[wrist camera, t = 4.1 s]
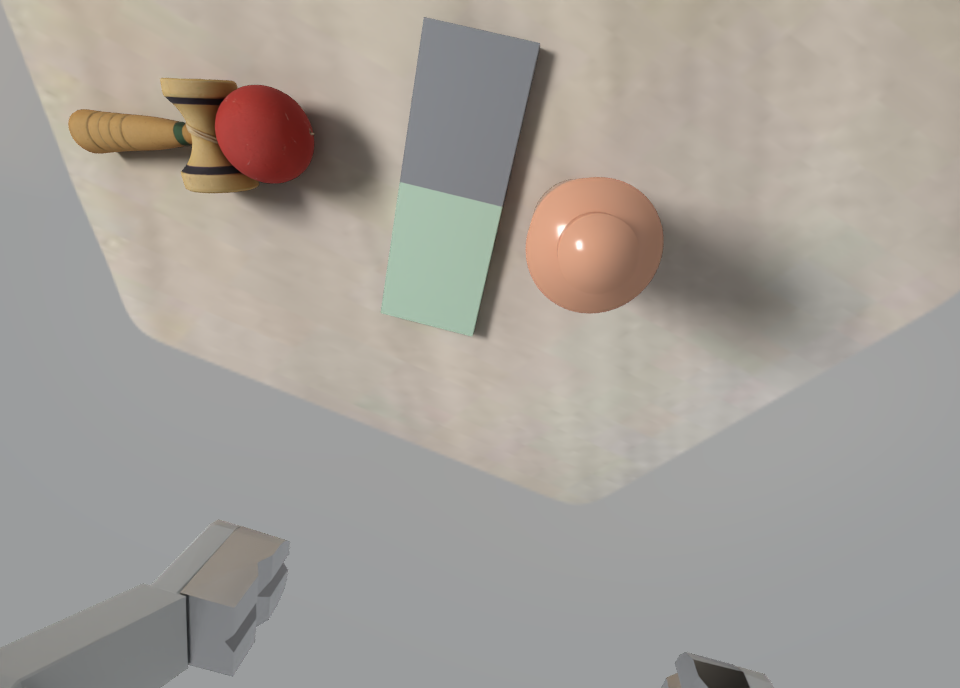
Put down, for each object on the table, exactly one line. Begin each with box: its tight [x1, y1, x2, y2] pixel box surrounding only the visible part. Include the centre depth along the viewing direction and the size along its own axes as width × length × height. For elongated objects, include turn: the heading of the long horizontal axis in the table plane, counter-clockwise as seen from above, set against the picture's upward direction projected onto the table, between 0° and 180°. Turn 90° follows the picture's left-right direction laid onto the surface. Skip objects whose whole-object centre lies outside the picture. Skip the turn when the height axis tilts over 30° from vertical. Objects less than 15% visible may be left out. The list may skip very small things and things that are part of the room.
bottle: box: [526, 177, 663, 313], centre depth 25 cm, size 6×6×15 cm
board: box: [381, 17, 540, 336], centre depth 32 cm, size 20×8×1 cm, turn 167°
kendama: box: [68, 78, 315, 193], centre depth 31 cm, size 8×6×18 cm
